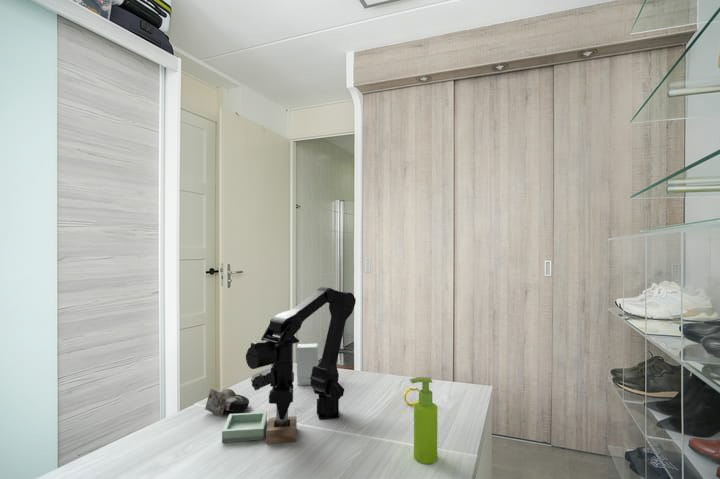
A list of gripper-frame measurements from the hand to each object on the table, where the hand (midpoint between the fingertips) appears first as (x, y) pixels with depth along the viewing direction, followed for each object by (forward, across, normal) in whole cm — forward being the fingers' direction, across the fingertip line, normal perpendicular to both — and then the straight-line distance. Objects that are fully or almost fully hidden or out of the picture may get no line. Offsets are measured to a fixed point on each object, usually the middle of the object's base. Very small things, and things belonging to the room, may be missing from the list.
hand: (282, 416), depth 109 cm
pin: (+5, 0, 0) cm, 5 cm away
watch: (+6, -16, +43) cm, 46 cm away
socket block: (+6, 0, 0) cm, 6 cm away
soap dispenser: (+6, +17, +36) cm, 40 cm away
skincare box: (+6, -42, +8) cm, 43 cm away
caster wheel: (+6, -20, -18) cm, 27 cm away
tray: (+6, -4, -10) cm, 13 cm away
